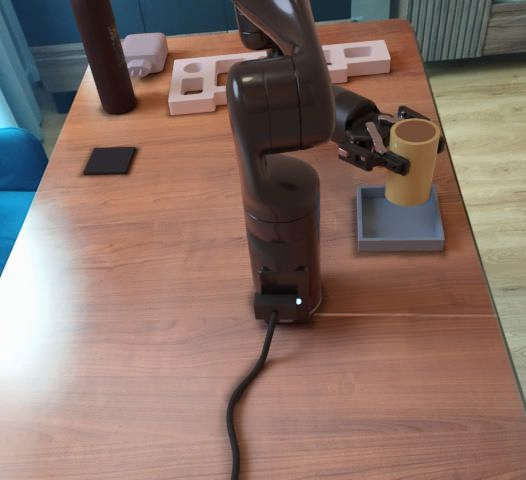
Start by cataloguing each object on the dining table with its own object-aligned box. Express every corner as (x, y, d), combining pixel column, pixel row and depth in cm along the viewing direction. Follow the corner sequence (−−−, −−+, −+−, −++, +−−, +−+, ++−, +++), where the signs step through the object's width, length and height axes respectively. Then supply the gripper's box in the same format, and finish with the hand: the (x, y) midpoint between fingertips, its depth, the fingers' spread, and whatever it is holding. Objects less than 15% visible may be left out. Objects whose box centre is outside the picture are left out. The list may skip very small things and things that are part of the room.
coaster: (126, 174, 105) (125, 171, 105) (83, 174, 106) (82, 172, 106) (135, 148, 110) (135, 146, 110) (95, 150, 111) (94, 147, 111)
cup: (432, 206, 84) (443, 143, 76) (385, 207, 85) (391, 145, 77) (427, 179, 88) (437, 117, 81) (383, 180, 89) (389, 118, 81)
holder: (383, 52, 126) (384, 39, 124) (397, 94, 115) (398, 81, 112) (177, 72, 128) (174, 59, 126) (170, 115, 117) (167, 102, 115)
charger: (117, 88, 126) (130, 56, 135) (159, 86, 125) (169, 53, 134) (111, 66, 122) (124, 34, 131) (154, 63, 121) (164, 31, 130)
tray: (442, 253, 86) (445, 239, 84) (358, 254, 87) (358, 240, 85) (433, 197, 94) (435, 184, 92) (356, 199, 95) (357, 185, 93)
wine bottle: (135, 112, 118) (89, -61, 95) (101, 116, 119) (46, -56, 95) (138, 95, 123) (94, -74, 100) (105, 99, 123) (53, -69, 100)
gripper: (304, 110, 83) (392, 155, 75) (373, 73, 89) (464, 111, 80) (305, 157, 89) (387, 203, 80) (370, 119, 94) (454, 160, 86)
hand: (425, 157), depth 80 cm, fingers closed on cup, 6 cm apart
